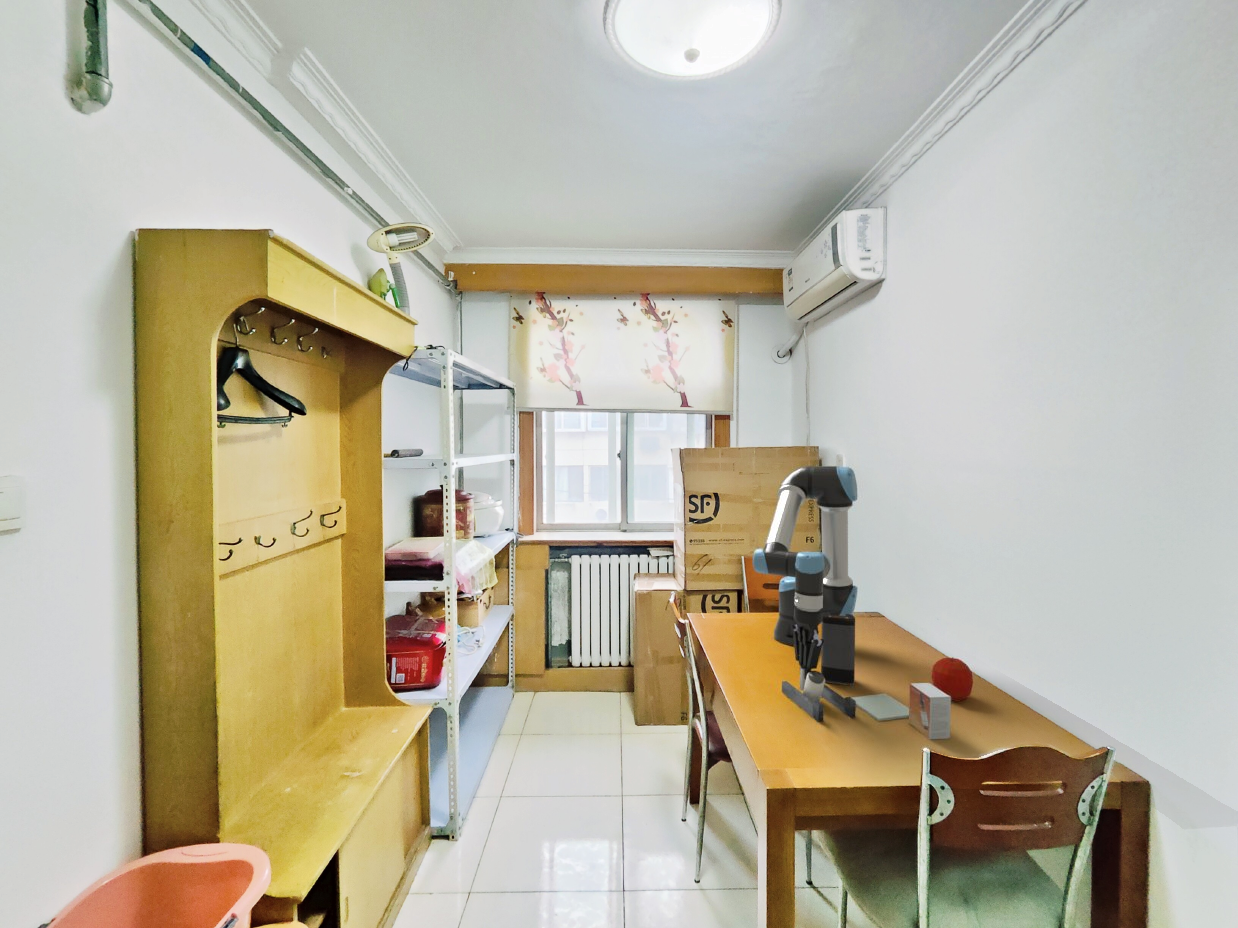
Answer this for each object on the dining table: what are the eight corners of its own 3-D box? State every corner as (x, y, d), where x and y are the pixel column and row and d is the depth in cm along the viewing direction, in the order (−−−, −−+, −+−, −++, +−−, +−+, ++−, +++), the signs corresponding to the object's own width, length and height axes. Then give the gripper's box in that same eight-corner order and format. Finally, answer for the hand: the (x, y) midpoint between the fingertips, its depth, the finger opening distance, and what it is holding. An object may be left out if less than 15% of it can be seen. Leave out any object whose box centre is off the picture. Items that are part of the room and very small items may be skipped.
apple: (952, 687, 159) (953, 648, 158) (982, 703, 149) (983, 661, 148) (923, 690, 156) (923, 651, 156) (951, 706, 147) (952, 665, 146)
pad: (848, 699, 151) (848, 697, 151) (885, 695, 153) (885, 693, 153) (878, 720, 139) (878, 718, 139) (917, 715, 142) (917, 713, 142)
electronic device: (853, 678, 165) (854, 613, 164) (854, 686, 159) (855, 619, 159) (820, 674, 168) (821, 610, 167) (821, 682, 162) (822, 616, 162)
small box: (908, 723, 138) (908, 682, 138) (929, 722, 138) (929, 681, 138) (928, 740, 130) (929, 697, 130) (950, 738, 130) (951, 696, 130)
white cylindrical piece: (798, 692, 152) (803, 671, 149) (813, 689, 153) (818, 667, 150) (809, 706, 148) (814, 684, 144) (823, 702, 149) (829, 680, 146)
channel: (781, 691, 156) (781, 676, 156) (815, 687, 158) (815, 672, 158) (818, 722, 138) (818, 705, 138) (855, 717, 141) (855, 700, 141)
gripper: (784, 601, 157) (781, 680, 158) (808, 615, 145) (805, 700, 146) (807, 600, 158) (804, 678, 160) (833, 613, 146) (829, 698, 147)
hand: (804, 689), depth 153 cm, fingers closed
